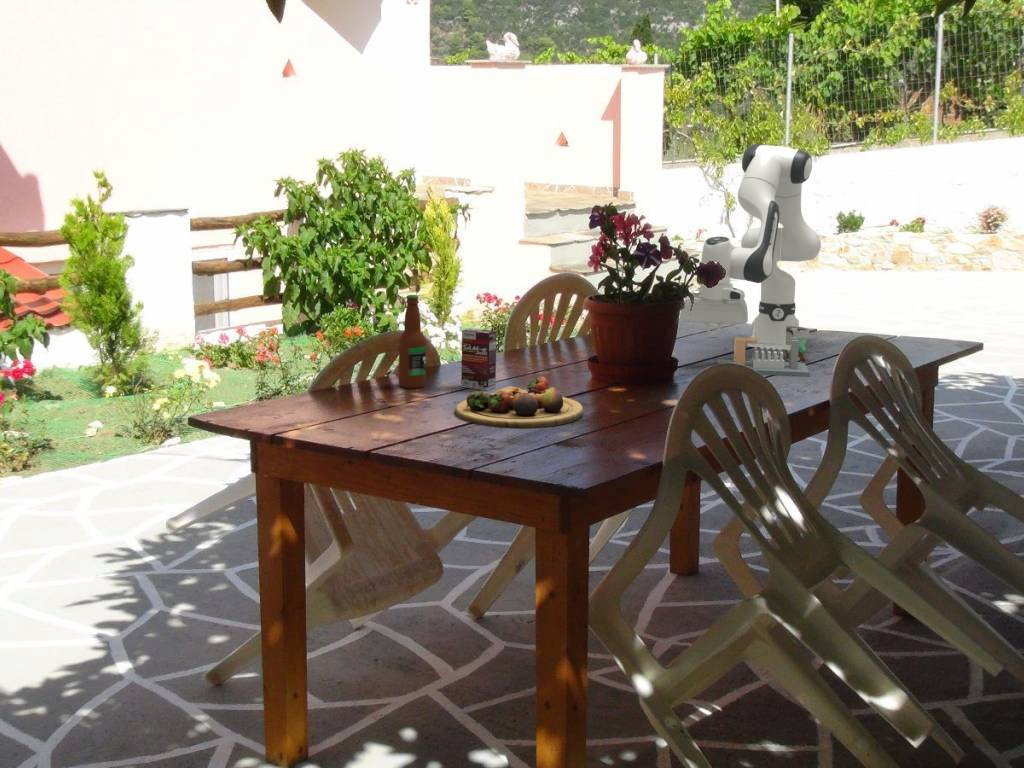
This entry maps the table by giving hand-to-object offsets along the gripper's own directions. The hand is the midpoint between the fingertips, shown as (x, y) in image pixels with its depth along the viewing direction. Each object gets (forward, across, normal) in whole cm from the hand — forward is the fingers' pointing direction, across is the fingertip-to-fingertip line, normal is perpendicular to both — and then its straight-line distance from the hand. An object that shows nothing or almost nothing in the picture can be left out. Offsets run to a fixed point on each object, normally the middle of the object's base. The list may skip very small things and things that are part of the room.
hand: (712, 337), depth 385 cm
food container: (+10, +27, +18) cm, 34 cm away
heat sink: (+9, +15, -1) cm, 18 cm away
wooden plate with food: (+8, -48, -76) cm, 90 cm away
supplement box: (+8, -64, -46) cm, 79 cm away
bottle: (+8, -82, -48) cm, 95 cm away
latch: (+8, +10, -1) cm, 12 cm away
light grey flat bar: (+2, +17, -1) cm, 18 cm away
